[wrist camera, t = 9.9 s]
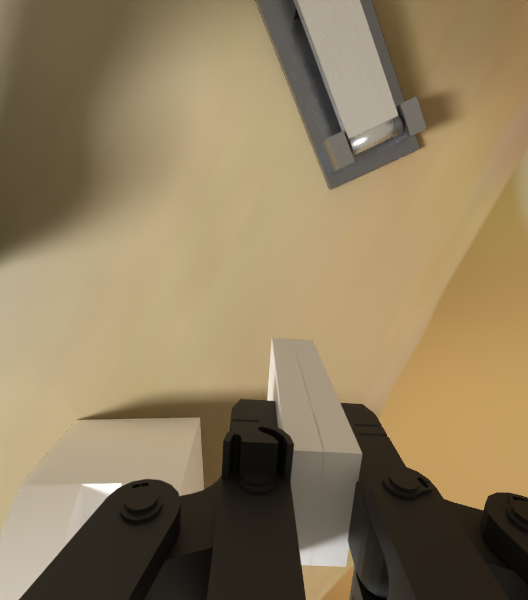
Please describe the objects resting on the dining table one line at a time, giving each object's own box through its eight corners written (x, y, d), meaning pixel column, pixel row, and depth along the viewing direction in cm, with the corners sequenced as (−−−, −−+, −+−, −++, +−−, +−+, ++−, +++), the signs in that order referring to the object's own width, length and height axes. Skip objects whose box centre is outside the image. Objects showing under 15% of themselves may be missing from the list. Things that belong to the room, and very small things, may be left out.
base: (415, 150, 40) (450, 136, 33) (329, 189, 41) (344, 185, 34) (333, -102, 35) (352, -183, 27) (235, -51, 35) (230, -117, 28)
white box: (207, 542, 51) (162, 841, 27) (94, 545, 51) (-53, 850, 27) (200, 416, 47) (139, 639, 23) (76, 419, 47) (-120, 647, 22)
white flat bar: (398, 135, 37) (405, 131, 35) (350, 157, 37) (355, 154, 35) (330, -65, 33) (334, -81, 31) (278, -38, 33) (279, -53, 31)
